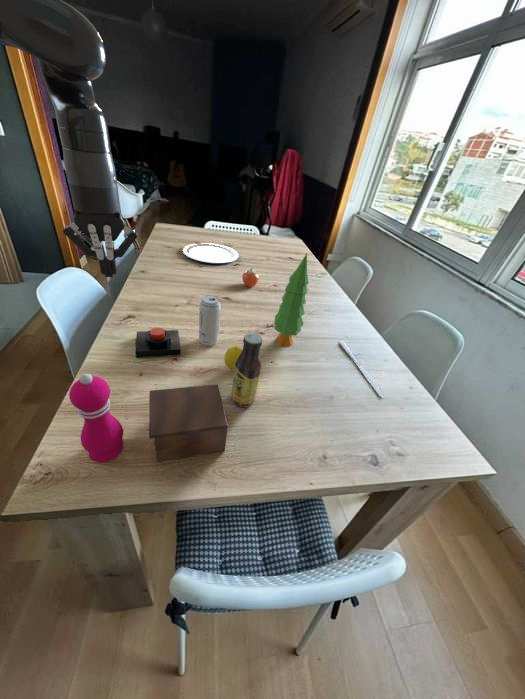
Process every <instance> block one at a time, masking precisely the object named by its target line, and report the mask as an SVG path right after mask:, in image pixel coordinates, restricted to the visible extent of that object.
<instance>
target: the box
mask: <svg viewBox="0 0 525 699" xmlns="http://www.w3.org/2000/svg"><path fill="white" fill-rule="evenodd" d="M227 435H228V427H227V428H223V429H216V430H208V431H201V432H194V433H187V434H180V435H173V436H166V437H159V438H153V441H154V449H155V456H156V462H157V463H162V462H169V461H175V460H181V459H186V458H192V457H198V456H205V455H210V454H217V453H222V452H225V451H226V445H227Z"/></svg>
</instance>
